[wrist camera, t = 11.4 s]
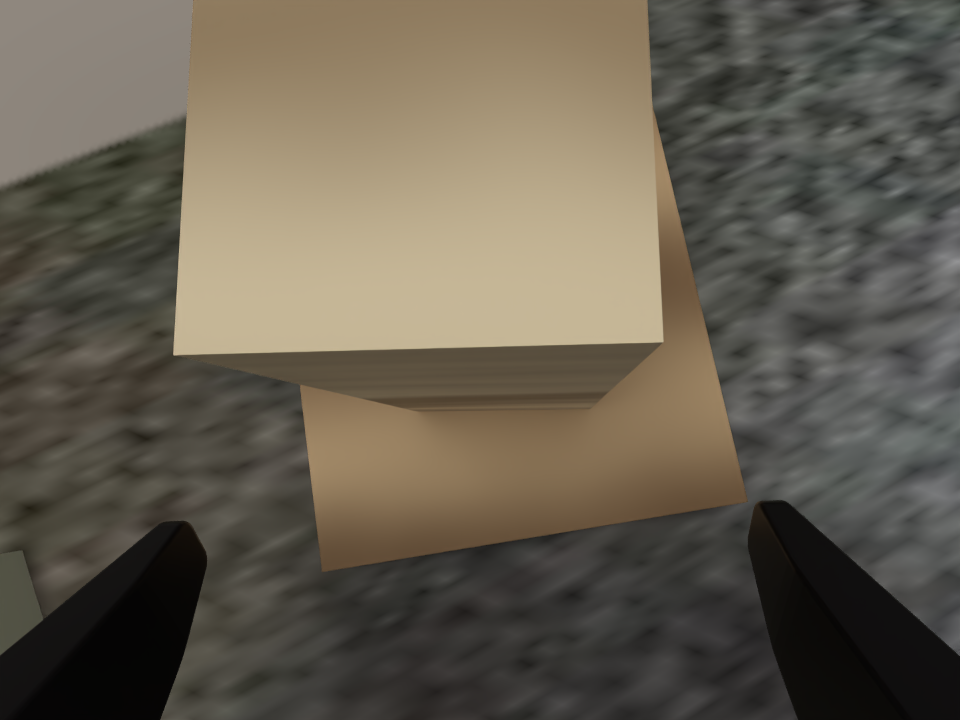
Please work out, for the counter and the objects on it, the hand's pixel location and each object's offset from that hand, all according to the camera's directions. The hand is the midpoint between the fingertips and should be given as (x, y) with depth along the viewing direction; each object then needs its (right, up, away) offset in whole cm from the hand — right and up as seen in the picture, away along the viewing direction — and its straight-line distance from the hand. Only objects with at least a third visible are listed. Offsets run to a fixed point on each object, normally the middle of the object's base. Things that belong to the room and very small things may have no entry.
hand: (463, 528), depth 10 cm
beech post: (+1, +4, +8) cm, 9 cm away
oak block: (+1, +3, +11) cm, 12 cm away
